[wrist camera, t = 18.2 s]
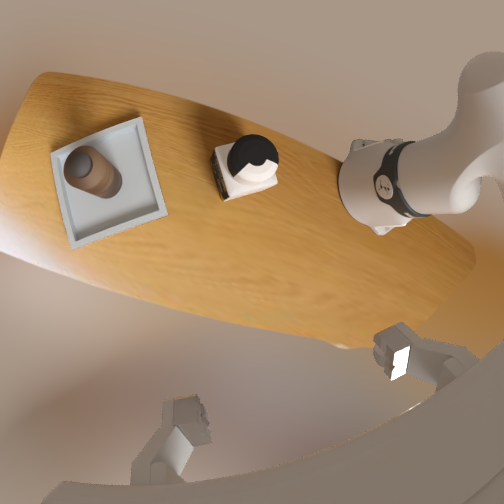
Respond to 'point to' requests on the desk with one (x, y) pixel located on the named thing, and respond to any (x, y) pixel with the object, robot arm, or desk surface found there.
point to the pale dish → (126, 200)
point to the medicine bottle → (244, 166)
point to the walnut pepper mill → (92, 173)
